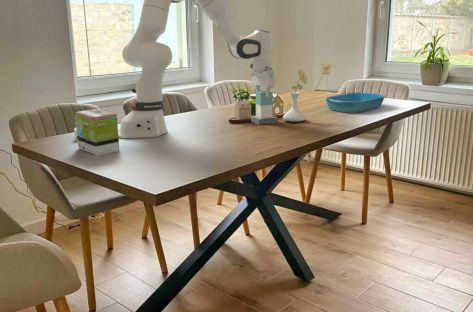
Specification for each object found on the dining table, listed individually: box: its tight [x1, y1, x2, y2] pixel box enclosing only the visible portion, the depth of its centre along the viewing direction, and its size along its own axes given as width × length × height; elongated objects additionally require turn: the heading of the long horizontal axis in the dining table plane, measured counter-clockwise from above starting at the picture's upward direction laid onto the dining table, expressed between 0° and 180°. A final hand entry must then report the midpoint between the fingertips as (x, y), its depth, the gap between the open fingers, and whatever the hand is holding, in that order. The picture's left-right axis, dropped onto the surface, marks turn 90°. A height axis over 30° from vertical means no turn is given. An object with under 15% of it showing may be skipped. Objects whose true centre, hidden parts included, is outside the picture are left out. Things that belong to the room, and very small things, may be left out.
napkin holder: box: [73, 127, 77, 141], centre depth 206 cm, size 15×11×6 cm
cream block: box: [255, 103, 274, 118], centre depth 233 cm, size 6×6×6 cm
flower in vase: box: [282, 68, 309, 123], centre depth 233 cm, size 13×11×25 cm
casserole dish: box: [325, 91, 386, 114], centre depth 267 cm, size 37×22×7 cm, turn 131°
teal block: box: [255, 90, 274, 106], centre depth 231 cm, size 6×6×6 cm
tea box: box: [74, 108, 121, 157], centre depth 183 cm, size 15×10×15 cm, turn 44°
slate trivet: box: [249, 114, 279, 125], centre depth 234 cm, size 10×10×2 cm
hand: (262, 95), depth 231 cm, fingers open, 8 cm apart
